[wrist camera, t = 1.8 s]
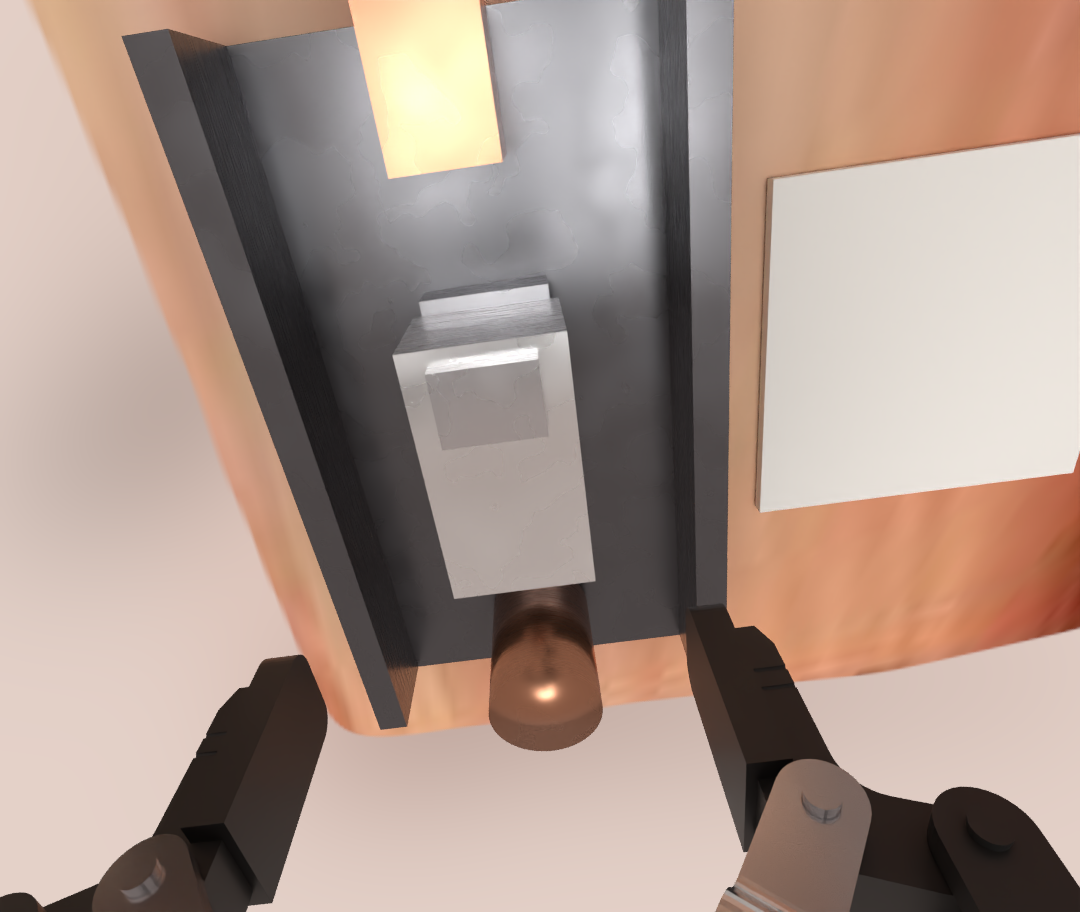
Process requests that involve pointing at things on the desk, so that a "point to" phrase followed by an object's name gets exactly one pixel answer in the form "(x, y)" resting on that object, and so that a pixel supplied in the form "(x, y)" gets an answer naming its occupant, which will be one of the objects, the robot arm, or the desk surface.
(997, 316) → the white mat
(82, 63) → the desk surface
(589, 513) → the dark grey tray
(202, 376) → the desk surface
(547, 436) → the grey box
